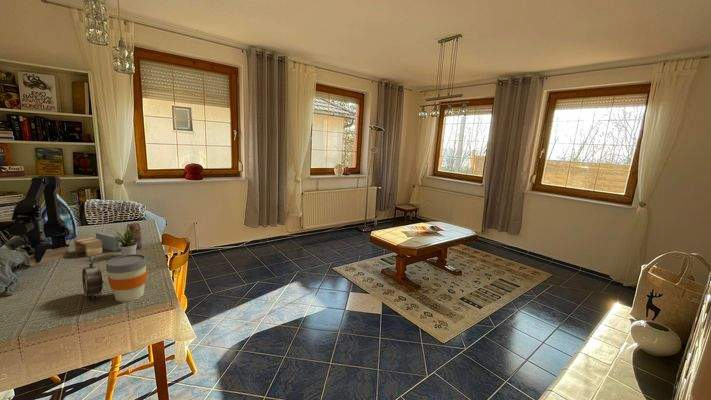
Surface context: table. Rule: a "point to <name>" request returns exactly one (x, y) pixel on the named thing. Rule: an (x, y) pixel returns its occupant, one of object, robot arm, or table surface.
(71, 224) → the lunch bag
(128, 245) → the house plant
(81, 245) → the block
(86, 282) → the alarm clock
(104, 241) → the backstop
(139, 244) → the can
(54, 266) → the table surface
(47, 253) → the peg
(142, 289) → the reusable coffee cup
